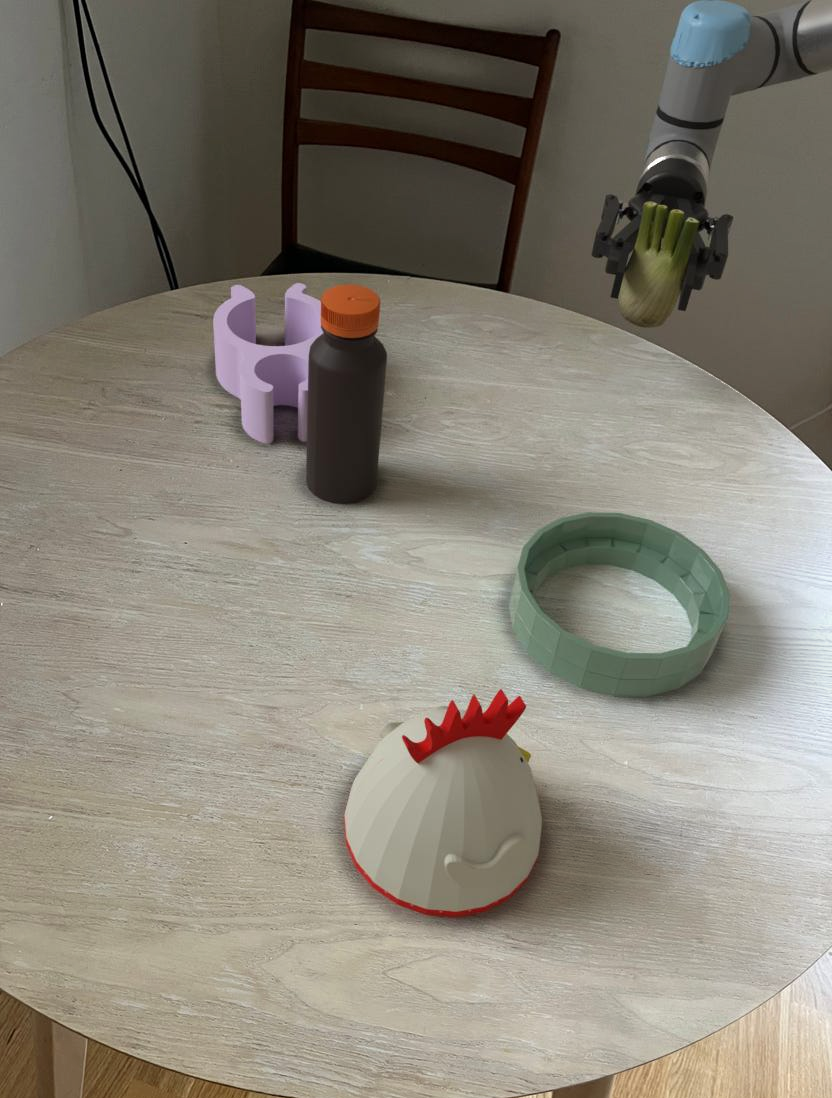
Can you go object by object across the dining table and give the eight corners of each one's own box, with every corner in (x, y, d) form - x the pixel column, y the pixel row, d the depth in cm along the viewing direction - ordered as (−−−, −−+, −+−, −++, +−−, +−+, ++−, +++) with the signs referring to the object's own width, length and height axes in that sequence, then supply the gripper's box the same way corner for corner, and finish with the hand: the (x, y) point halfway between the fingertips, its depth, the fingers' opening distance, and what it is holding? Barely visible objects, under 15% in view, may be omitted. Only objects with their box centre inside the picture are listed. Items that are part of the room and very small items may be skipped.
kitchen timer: (570, 889, 75) (620, 760, 64) (387, 949, 71) (406, 823, 60) (485, 738, 83) (516, 601, 72) (317, 784, 80) (323, 648, 69)
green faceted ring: (715, 583, 97) (734, 537, 93) (702, 726, 85) (723, 681, 81) (527, 540, 99) (537, 494, 95) (490, 673, 88) (500, 627, 84)
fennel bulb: (675, 331, 110) (708, 217, 101) (634, 339, 109) (664, 224, 100) (645, 303, 114) (674, 191, 105) (605, 310, 113) (631, 197, 104)
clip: (348, 447, 108) (351, 388, 103) (223, 453, 106) (220, 394, 101) (323, 339, 121) (325, 282, 116) (212, 343, 119) (209, 285, 114)
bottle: (359, 460, 106) (371, 272, 92) (387, 502, 102) (405, 312, 88) (295, 475, 104) (297, 285, 90) (321, 518, 100) (328, 327, 85)
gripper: (747, 239, 120) (738, 344, 105) (580, 210, 123) (547, 308, 108) (769, 171, 115) (763, 272, 99) (593, 143, 118) (561, 237, 102)
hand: (651, 291), depth 104 cm, fingers closed on fennel bulb, 6 cm apart
